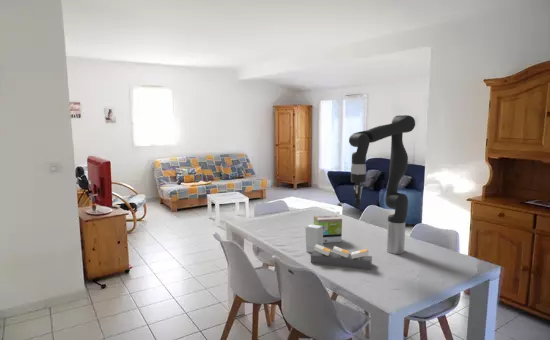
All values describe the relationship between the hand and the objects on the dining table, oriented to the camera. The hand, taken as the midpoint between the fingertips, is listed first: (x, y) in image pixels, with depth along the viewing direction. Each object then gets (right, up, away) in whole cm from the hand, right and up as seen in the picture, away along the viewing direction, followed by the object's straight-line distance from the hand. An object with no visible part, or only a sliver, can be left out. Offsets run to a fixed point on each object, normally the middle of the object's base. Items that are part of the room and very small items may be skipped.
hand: (357, 205), depth 195 cm
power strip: (-9, -29, -1) cm, 31 cm away
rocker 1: (-19, -24, 0) cm, 30 cm away
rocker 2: (-9, -23, -3) cm, 25 cm away
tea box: (-11, -25, +37) cm, 46 cm away
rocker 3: (0, -23, -6) cm, 24 cm away
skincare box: (-21, -27, +17) cm, 38 cm away
